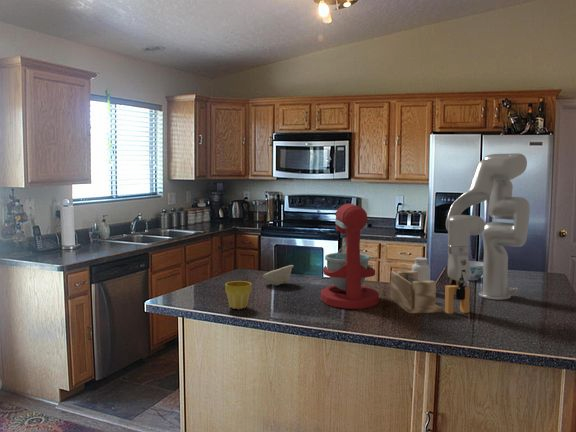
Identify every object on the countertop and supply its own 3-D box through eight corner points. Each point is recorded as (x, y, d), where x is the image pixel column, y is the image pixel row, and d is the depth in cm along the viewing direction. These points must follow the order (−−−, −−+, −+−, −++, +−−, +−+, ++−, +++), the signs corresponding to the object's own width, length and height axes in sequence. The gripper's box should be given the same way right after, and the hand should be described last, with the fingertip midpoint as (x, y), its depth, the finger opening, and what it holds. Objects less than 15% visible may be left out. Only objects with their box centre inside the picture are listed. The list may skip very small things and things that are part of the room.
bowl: (275, 280, 256) (275, 260, 255) (299, 283, 247) (299, 263, 247) (256, 285, 244) (256, 264, 243) (280, 289, 235) (280, 268, 234)
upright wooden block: (464, 310, 200) (465, 284, 199) (468, 312, 196) (469, 286, 196) (444, 311, 199) (445, 285, 198) (448, 313, 196) (448, 287, 195)
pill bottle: (430, 294, 225) (431, 260, 224) (411, 293, 227) (411, 259, 226) (429, 290, 233) (429, 257, 232) (410, 289, 235) (411, 256, 233)
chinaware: (449, 276, 263) (450, 261, 262) (478, 275, 265) (478, 260, 264) (462, 282, 248) (463, 266, 247) (492, 281, 250) (493, 265, 249)
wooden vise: (420, 297, 220) (420, 270, 219) (442, 312, 197) (442, 282, 196) (390, 298, 219) (390, 271, 218) (408, 313, 196) (409, 283, 195)
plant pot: (255, 305, 208) (255, 281, 207) (245, 312, 198) (245, 287, 197) (232, 303, 211) (231, 280, 211) (220, 310, 202) (220, 285, 201)
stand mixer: (370, 290, 233) (371, 201, 229) (387, 309, 202) (388, 206, 198) (317, 291, 232) (317, 201, 228) (325, 310, 200) (326, 206, 197)
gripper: (478, 253, 187) (477, 302, 189) (457, 246, 204) (456, 291, 206) (458, 253, 187) (457, 303, 188) (439, 246, 204) (438, 292, 205)
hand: (457, 297), depth 197 cm, fingers open, 5 cm apart
